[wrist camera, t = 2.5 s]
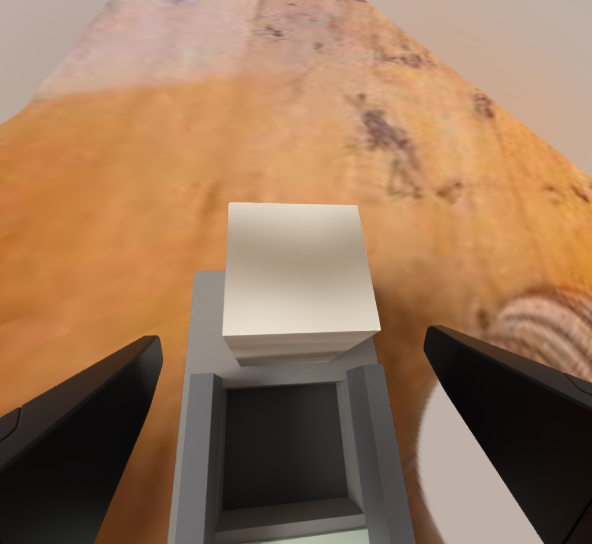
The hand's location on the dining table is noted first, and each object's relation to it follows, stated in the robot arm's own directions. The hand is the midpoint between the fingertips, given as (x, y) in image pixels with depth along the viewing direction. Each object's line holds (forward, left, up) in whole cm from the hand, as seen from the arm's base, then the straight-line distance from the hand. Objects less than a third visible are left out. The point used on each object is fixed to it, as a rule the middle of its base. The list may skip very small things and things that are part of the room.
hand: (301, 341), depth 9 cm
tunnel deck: (-3, +1, -10) cm, 11 cm away
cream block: (+2, -1, -7) cm, 8 cm away
